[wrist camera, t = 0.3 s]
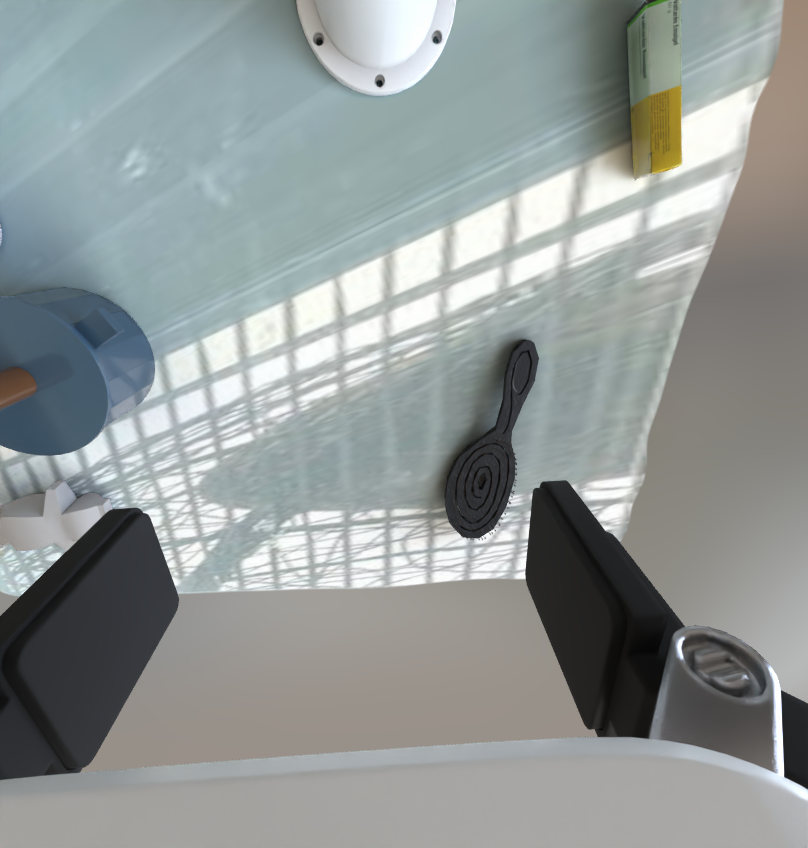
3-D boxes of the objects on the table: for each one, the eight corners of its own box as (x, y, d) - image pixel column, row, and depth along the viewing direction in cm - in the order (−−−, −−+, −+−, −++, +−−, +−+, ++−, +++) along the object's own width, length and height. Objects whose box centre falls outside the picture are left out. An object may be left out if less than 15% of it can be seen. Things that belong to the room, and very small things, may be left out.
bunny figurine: (112, 559, 50) (-30, 573, 48) (130, 531, 55) (2, 543, 52) (88, 492, 46) (-68, 504, 44) (110, 469, 51) (-30, 479, 49)
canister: (-30, 348, 43) (-121, 372, 35) (101, 244, 40) (32, 246, 32) (76, 446, 48) (17, 486, 40) (201, 361, 45) (162, 388, 37)
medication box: (622, 21, 35) (645, -4, 31) (657, 8, 34) (684, -19, 30) (631, 181, 39) (651, 175, 36) (662, 172, 39) (685, 165, 35)
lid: (-101, 352, 35) (-185, 372, 30) (14, 258, 33) (-56, 261, 28) (41, 475, 41) (-9, 509, 36) (150, 401, 38) (113, 427, 33)
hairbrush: (573, 352, 43) (502, 547, 52) (559, 346, 47) (494, 530, 55) (497, 336, 42) (437, 537, 51) (489, 330, 46) (434, 520, 54)
